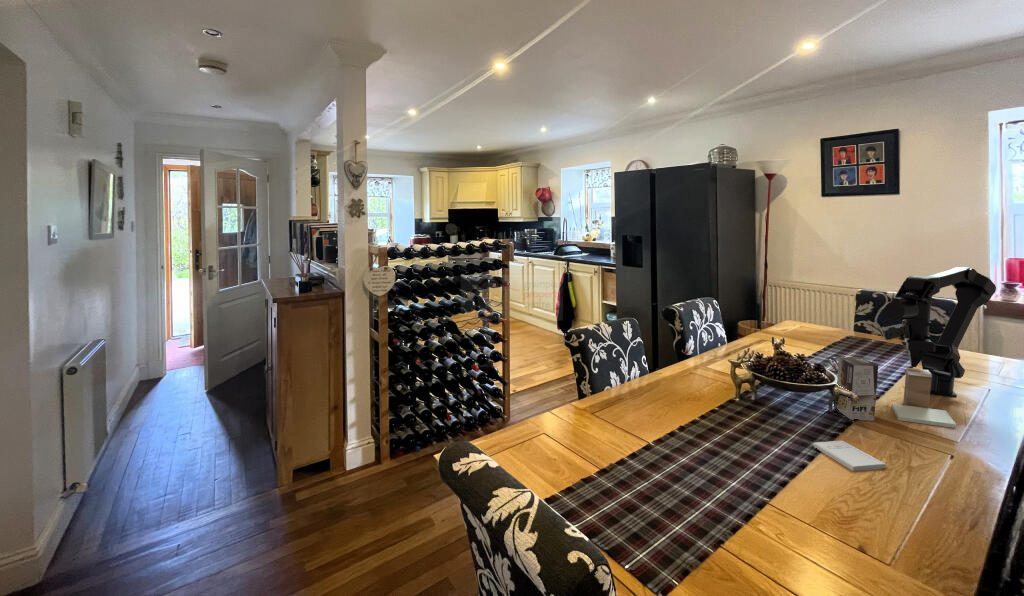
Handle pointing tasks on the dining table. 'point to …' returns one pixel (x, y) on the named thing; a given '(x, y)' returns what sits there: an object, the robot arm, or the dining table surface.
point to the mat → (923, 415)
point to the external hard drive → (849, 455)
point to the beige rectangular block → (917, 387)
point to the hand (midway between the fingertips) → (913, 366)
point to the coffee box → (857, 387)
